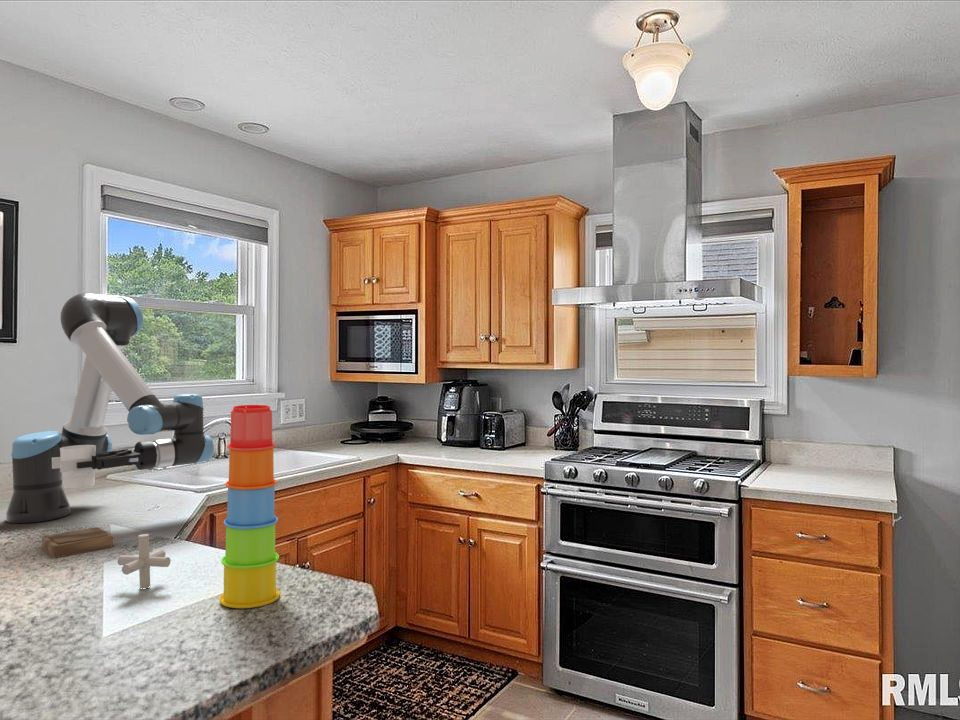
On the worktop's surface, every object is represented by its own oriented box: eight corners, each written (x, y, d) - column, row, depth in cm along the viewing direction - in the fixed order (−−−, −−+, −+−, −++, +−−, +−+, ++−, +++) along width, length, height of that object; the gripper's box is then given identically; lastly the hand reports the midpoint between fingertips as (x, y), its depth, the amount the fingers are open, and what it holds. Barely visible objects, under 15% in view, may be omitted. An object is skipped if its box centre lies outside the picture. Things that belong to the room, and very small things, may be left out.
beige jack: (151, 598, 127) (149, 543, 127) (103, 595, 129) (101, 541, 129) (184, 580, 137) (183, 529, 137) (139, 578, 139) (138, 527, 139)
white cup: (62, 485, 178) (61, 446, 178) (98, 482, 181) (97, 444, 181) (59, 490, 171) (57, 450, 171) (95, 487, 174) (94, 447, 174)
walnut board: (41, 547, 164) (41, 535, 164) (98, 537, 172) (98, 526, 172) (54, 557, 155) (54, 545, 155) (113, 546, 163) (113, 534, 163)
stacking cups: (275, 586, 132) (270, 402, 132) (284, 603, 123) (279, 405, 122) (217, 595, 128) (211, 405, 127) (222, 613, 118) (216, 409, 118)
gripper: (167, 472, 181) (67, 485, 165) (140, 464, 196) (46, 475, 180) (166, 443, 181) (66, 453, 165) (140, 437, 196) (46, 446, 180)
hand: (56, 465), depth 173 cm, fingers closed on white cup, 8 cm apart
